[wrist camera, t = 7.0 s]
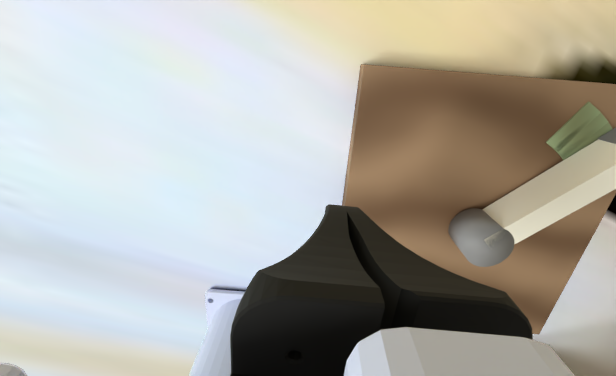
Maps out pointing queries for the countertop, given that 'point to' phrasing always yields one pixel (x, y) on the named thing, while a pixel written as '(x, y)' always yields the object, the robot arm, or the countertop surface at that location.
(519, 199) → the dial lever
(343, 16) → the countertop surface
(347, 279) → the robot arm
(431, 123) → the dial board
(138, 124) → the countertop surface
